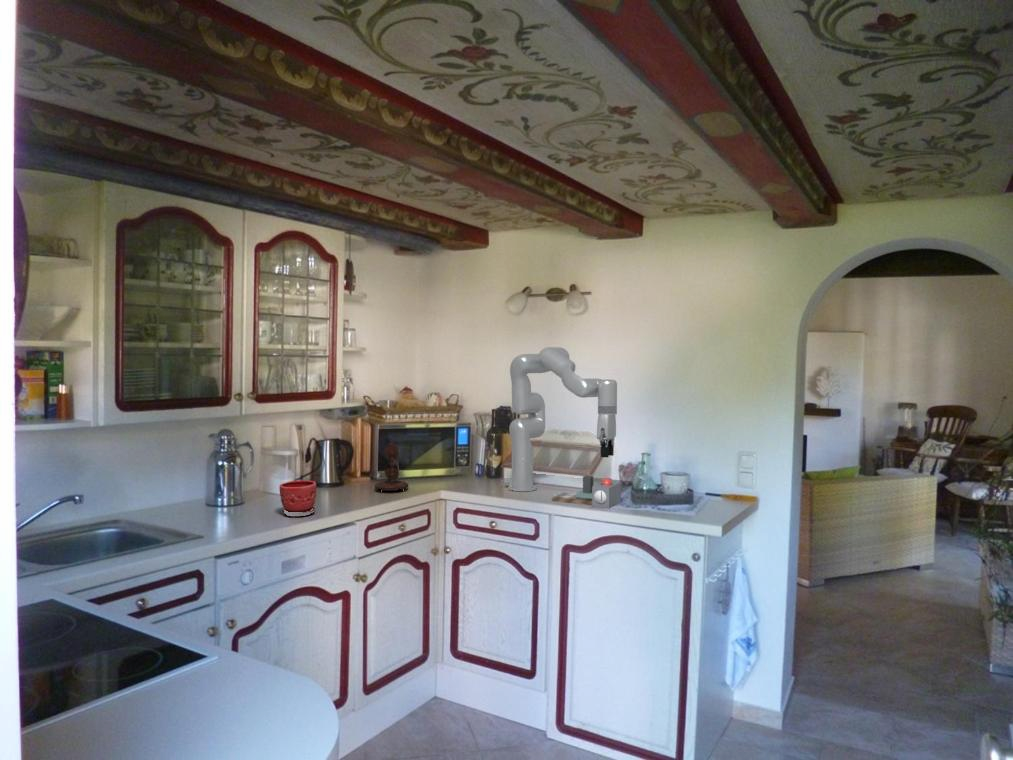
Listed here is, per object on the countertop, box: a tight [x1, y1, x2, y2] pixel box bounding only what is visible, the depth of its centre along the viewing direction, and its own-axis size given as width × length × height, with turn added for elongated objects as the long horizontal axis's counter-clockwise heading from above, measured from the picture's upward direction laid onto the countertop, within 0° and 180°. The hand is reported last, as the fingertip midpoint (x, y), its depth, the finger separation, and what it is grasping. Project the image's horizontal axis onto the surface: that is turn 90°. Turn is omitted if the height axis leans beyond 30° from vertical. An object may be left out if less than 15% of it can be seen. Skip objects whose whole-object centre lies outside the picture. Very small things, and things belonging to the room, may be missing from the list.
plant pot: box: [279, 479, 317, 513], centre depth 268 cm, size 13×13×12 cm
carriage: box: [575, 475, 594, 499], centre depth 291 cm, size 7×8×8 cm
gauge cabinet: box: [591, 481, 622, 509], centre depth 287 cm, size 7×15×8 cm, turn 152°
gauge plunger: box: [601, 477, 613, 486], centre depth 287 cm, size 4×4×5 cm
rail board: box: [551, 491, 592, 506], centre depth 293 cm, size 18×9×2 cm, turn 62°
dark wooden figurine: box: [374, 443, 409, 491], centre depth 315 cm, size 15×15×20 cm
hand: (607, 455), depth 287 cm, fingers open, 4 cm apart
